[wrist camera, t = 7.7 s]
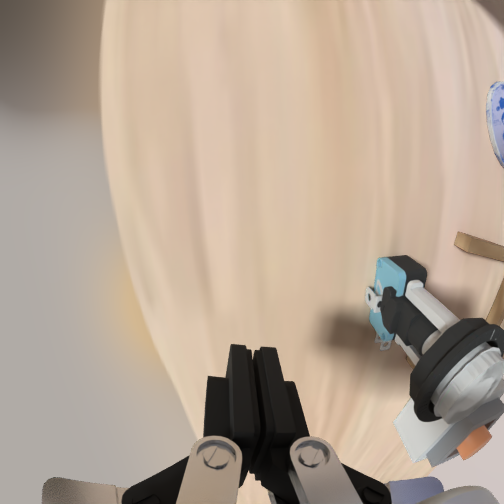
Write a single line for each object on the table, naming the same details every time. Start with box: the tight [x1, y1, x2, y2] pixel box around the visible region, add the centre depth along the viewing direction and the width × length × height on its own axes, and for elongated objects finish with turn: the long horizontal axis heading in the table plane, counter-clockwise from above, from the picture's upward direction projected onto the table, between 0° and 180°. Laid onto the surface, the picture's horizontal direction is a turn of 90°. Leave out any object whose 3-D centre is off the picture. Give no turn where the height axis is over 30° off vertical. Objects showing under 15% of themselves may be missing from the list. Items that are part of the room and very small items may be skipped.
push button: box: [365, 255, 504, 424], centre depth 12 cm, size 7×5×10 cm
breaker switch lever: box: [456, 425, 492, 460], centre depth 17 cm, size 3×3×8 cm
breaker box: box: [393, 379, 504, 467], centre depth 18 cm, size 9×8×8 cm
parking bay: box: [406, 232, 504, 369], centre depth 17 cm, size 11×10×2 cm
